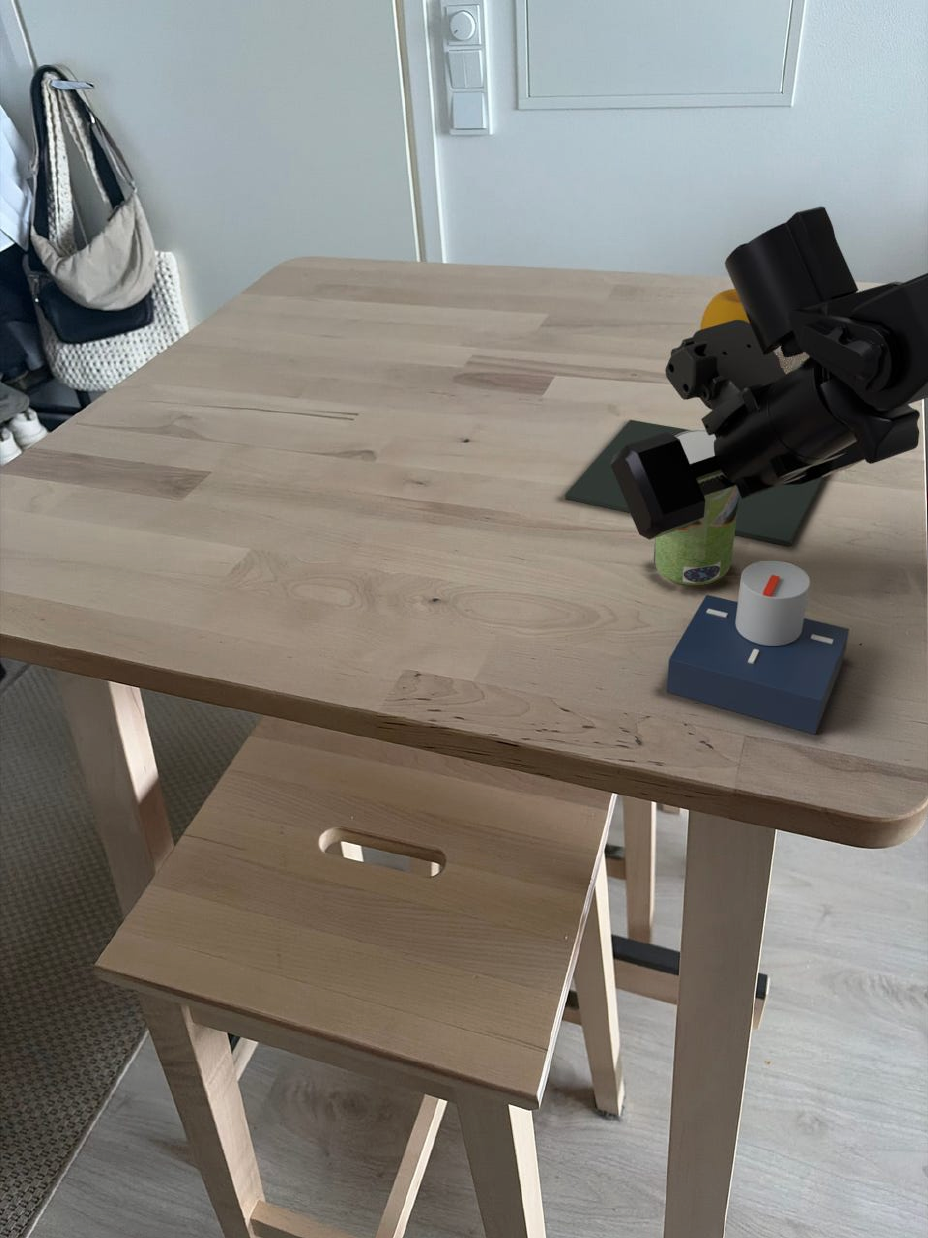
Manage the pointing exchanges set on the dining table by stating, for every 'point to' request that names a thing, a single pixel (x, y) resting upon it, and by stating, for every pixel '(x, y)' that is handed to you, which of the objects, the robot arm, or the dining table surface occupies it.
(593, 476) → the drip mat
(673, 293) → the dining table surface
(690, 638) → the rotary dial base
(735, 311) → the apple
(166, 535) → the dining table surface
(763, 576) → the grey rotary knob
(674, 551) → the beverage can
